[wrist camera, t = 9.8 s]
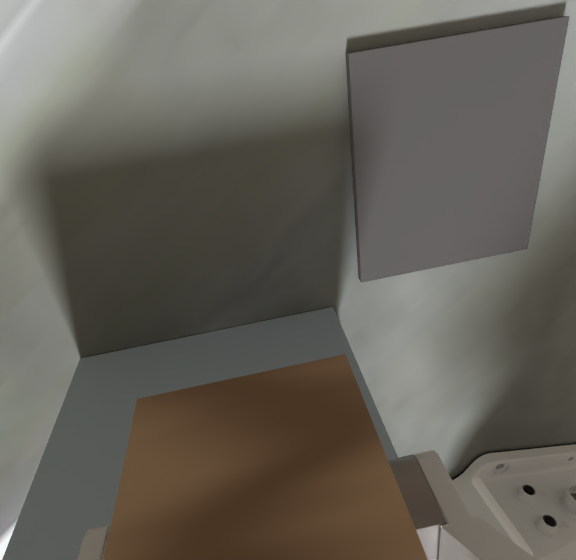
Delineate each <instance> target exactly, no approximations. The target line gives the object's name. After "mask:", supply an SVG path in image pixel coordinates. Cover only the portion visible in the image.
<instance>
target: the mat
mask: <svg viewBox="0 0 576 560" xmlns="http://www.w3.org/2000/svg"><path fill="white" fill-rule="evenodd" d="M568 21H569V16H563V17H556V18H550V19H544V20H538V21H532V22H526V23H520V24H514V25H508V26H502V27H497V28H491V29H485V30H479V31H473V32H467V33H461V34H455V35H449V36H443V37H437V38H432V39H426V40H420V41H414V42H408V43H402V44H396V45H390V46H384V47H378V48H372V49H367V50H361V51H355V52H349V53H346V68H347V85H348V102H349V119H350V137H351V154H352V171H353V189H354V206H355V223H356V240H357V258H358V275H359V279H360V281H361V282H365V281H370V280H375V279H380V278H385V277H390V276H395V275H400V274H405V273H410V272H415V271H420V270H425V269H430V268H435V267H440V266H444V265H449V264H454V263H459V262H464V261H469V260H474V259H479V258H484V257H489V256H494V255H499V254H504V253H509V252H514V251H519V250H524V249H527V247H528V242H529V236H530V231H531V225H532V219H533V214H534V208H535V203H536V197H537V192H538V186H539V181H540V175H541V170H542V164H543V159H544V153H545V148H546V142H547V137H548V131H549V126H550V120H551V115H552V109H553V104H554V98H555V92H556V87H557V81H558V76H559V70H560V65H561V59H562V54H563V48H564V43H565V37H566V32H567V26H568Z"/></svg>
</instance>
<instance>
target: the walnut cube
mask: <svg viewBox="0 0 576 560" xmlns="http://www.w3.org/2000/svg"><path fill="white" fill-rule="evenodd" d="M104 560H428V559H427V556H426V554H425V551H424V549H423V546H422V544H421V541H420V539H419V536H418V534H417V531H416V529H415V526H414V524H413V521H412V519H411V516H410V514H409V511H408V509H407V506H406V504H405V501H404V499H403V496H402V494H401V491H400V489H399V486H398V484H397V481H396V479H395V476H394V474H393V471H392V469H391V466H390V464H389V462H388V459H387V457H386V454H385V452H384V449H383V447H382V444H381V442H380V439H379V437H378V434H377V432H376V429H375V427H374V424H373V422H372V419H371V417H370V414H369V412H368V409H367V407H366V404H365V402H364V399H363V397H362V394H361V392H360V389H359V387H358V384H357V382H356V379H355V377H354V374H353V372H352V369H351V367H350V364H349V362H348V359H347V357H346V354H344V355H339V356H334V357H330V358H325V359H320V360H316V361H311V362H306V363H302V364H297V365H292V366H288V367H283V368H278V369H274V370H269V371H264V372H260V373H255V374H251V375H246V376H241V377H237V378H232V379H227V380H223V381H218V382H213V383H209V384H204V385H199V386H195V387H190V388H185V389H181V390H176V391H171V392H167V393H162V394H157V395H153V396H148V397H143V398H139V399H137V402H136V407H135V412H134V416H133V421H132V426H131V431H130V436H129V441H128V445H127V450H126V455H125V460H124V465H123V469H122V474H121V479H120V484H119V489H118V494H117V498H116V503H115V508H114V513H113V518H112V522H111V527H110V532H109V537H108V542H107V547H106V551H105V556H104Z"/></svg>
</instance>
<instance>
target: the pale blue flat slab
mask: <svg viewBox="0 0 576 560" xmlns="http://www.w3.org/2000/svg"><path fill="white" fill-rule="evenodd" d="M344 354H346V357H347V359H348V362H349V364H350V367H351V369H352V372H353V374H354V377H355V379H356V382H357V384H358V387H359V389H360V392H361V394H362V397H363V399H364V402H365V404H366V407H367V409H368V412H369V414H370V417H371V419H372V422H373V424H374V427H375V429H376V432H377V434H378V437H379V439H380V442H381V444H382V447H383V449H384V452H385V454H386V457H387V459H388V460H392V459H396V458H398V457H397V454H396V452H395V450H394V447H393V445H392V443H391V440H390V438H389V436H388V433H387V431H386V429H385V426H384V424H383V422H382V419H381V417H380V415H379V413H378V410H377V408H376V406H375V403H374V401H373V399H372V396H371V394H370V392H369V389H368V387H367V385H366V382H365V380H364V378H363V375H362V373H361V371H360V368H359V366H358V364H357V361H356V359H355V357H354V354H353V352H352V350H351V347H350V345H349V343H348V340H347V338H346V336H345V333H344V331H343V329H342V327H341V324H340V322H339V320H338V317H337V315H336V313H335V310H334V308H333V307H330V308H325V309H320V310H315V311H310V312H305V313H300V314H295V315H290V316H286V317H281V318H276V319H271V320H266V321H261V322H256V323H251V324H247V325H242V326H237V327H232V328H227V329H222V330H217V331H212V332H207V333H203V334H198V335H193V336H188V337H183V338H178V339H173V340H168V341H164V342H159V343H154V344H149V345H144V346H139V347H134V348H129V349H125V350H120V351H115V352H110V353H105V354H100V355H95V356H90V357H85V358H81V359H80V361H79V363H78V366H77V368H76V371H75V374H74V376H73V379H72V381H71V384H70V387H69V389H68V392H67V394H66V397H65V399H64V402H63V405H62V407H61V410H60V412H59V415H58V417H57V420H56V423H55V425H54V428H53V430H52V433H51V436H50V438H49V441H48V443H47V446H46V448H45V451H44V454H43V456H42V459H41V461H40V464H39V467H38V469H37V472H36V474H35V477H34V479H33V482H32V485H31V487H30V490H29V492H28V495H27V498H26V500H25V503H24V505H23V508H22V510H21V513H20V516H19V518H18V521H17V523H16V526H15V528H14V531H13V534H12V536H11V539H10V541H9V544H8V547H7V549H6V552H5V554H4V557H3V559H2V560H77V559H78V555H79V551H80V548H81V544H82V540H83V538H84V536H85V534H86V532H87V531H88V530H89V529H93V528H97V527H102V526H106V525H110V524H111V522H112V518H113V513H114V508H115V503H116V498H117V494H118V489H119V484H120V479H121V474H122V469H123V465H124V460H125V455H126V450H127V445H128V441H129V436H130V431H131V426H132V421H133V416H134V412H135V407H136V402H137V399H139V398H143V397H148V396H153V395H157V394H162V393H167V392H171V391H176V390H181V389H185V388H190V387H195V386H199V385H204V384H209V383H213V382H218V381H223V380H227V379H232V378H237V377H241V376H246V375H251V374H255V373H260V372H264V371H269V370H274V369H278V368H283V367H288V366H292V365H297V364H302V363H306V362H311V361H316V360H320V359H325V358H330V357H334V356H339V355H344Z"/></svg>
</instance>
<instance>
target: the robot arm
mask: <svg viewBox="0 0 576 560" xmlns="http://www.w3.org/2000/svg"><path fill="white" fill-rule="evenodd" d="M388 462H389V464H390V466H391V469H392V471H393V474H394V476H395V479H396V481H397V484H398V486H399V489H400V491H401V494H402V496H403V499H404V501H405V504H406V506H407V509H408V511H409V514H410V516H411V519H412V521H413V524H414V526H415V529H416V531H417V534H418V536H419V539H420V541H421V544H422V546H423V549H424V551H425V554H426V556H427V559H428V560H576V444H574V445H564V446H555V447H545V448H535V449H526V450H516V451H507V452H497V453H489V454H485V455H482V456H481V457H479V458H478V459H476V460H475V461H474V462H473V463H472V464H471V465H470V466H469V467H468V468H467V470H466V471H465V472H464V473H463V474H461V475H460V476H459V477H457V478H456V479H454V480H452V479H451V477H450V476H449V474H448V472H447V470H446V468H445V466H444V464H443V462H442V460H441V459H440V457H439V455H438V454H437V453H436V452H435V451H433V450H431V451H427V452H423V453H418V454H414V455H408V456H404V457H400V458H396V459H392V460H388ZM110 527H111V524H110V525H106V526H102V527H97V528H93V529H89V530H88V531H87V532H86V534H85V536H84V538H83V540H82V544H81V548H80V551H79V555H78V559H77V560H104V556H105V551H106V547H107V542H108V537H109V532H110Z"/></svg>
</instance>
